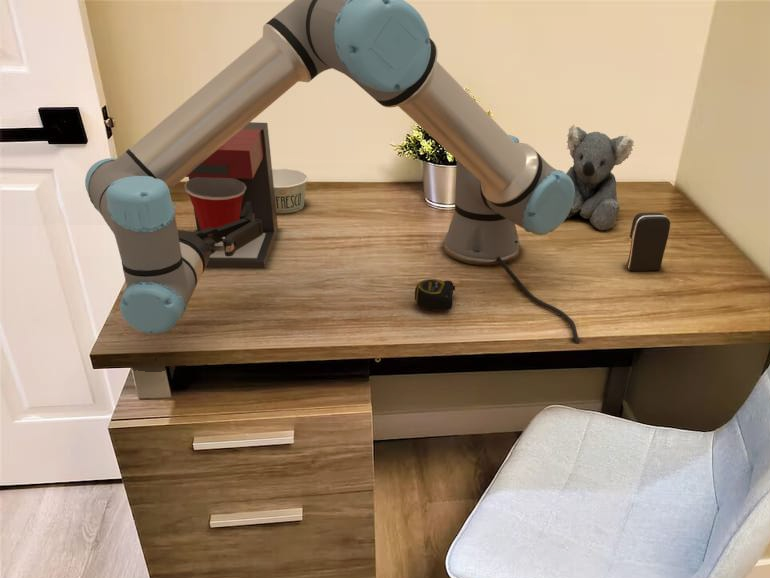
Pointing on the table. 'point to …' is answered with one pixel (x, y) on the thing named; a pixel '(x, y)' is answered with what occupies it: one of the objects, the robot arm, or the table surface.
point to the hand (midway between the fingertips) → (209, 208)
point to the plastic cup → (215, 200)
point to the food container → (289, 189)
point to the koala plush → (596, 174)
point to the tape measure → (434, 294)
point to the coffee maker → (246, 191)
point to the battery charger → (648, 241)
